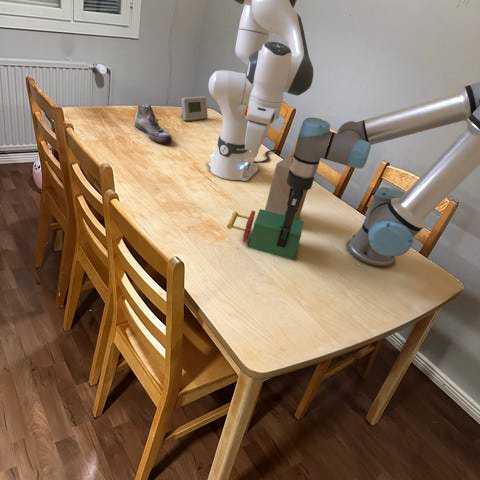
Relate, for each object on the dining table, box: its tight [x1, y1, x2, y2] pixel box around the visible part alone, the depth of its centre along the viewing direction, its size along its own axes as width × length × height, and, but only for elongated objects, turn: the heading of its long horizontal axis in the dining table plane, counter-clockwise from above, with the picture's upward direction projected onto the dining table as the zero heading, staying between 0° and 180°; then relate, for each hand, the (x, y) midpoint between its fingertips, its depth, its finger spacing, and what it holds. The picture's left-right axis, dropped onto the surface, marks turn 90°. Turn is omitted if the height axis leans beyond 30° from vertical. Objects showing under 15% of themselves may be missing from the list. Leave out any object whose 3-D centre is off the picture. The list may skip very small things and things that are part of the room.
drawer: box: [226, 210, 256, 243], centre depth 138 cm, size 19×9×7 cm, turn 78°
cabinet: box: [248, 208, 305, 260], centre depth 137 cm, size 14×10×9 cm
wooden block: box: [264, 156, 309, 219], centre depth 151 cm, size 10×10×20 cm
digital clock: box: [180, 95, 209, 122], centre depth 224 cm, size 16×9×11 cm, turn 123°
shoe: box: [134, 102, 172, 145], centre depth 194 cm, size 25×11×12 cm, turn 30°
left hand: (253, 155), depth 126 cm, fingers closed
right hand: (283, 237), depth 138 cm, fingers closed on cabinet, 10 cm apart
